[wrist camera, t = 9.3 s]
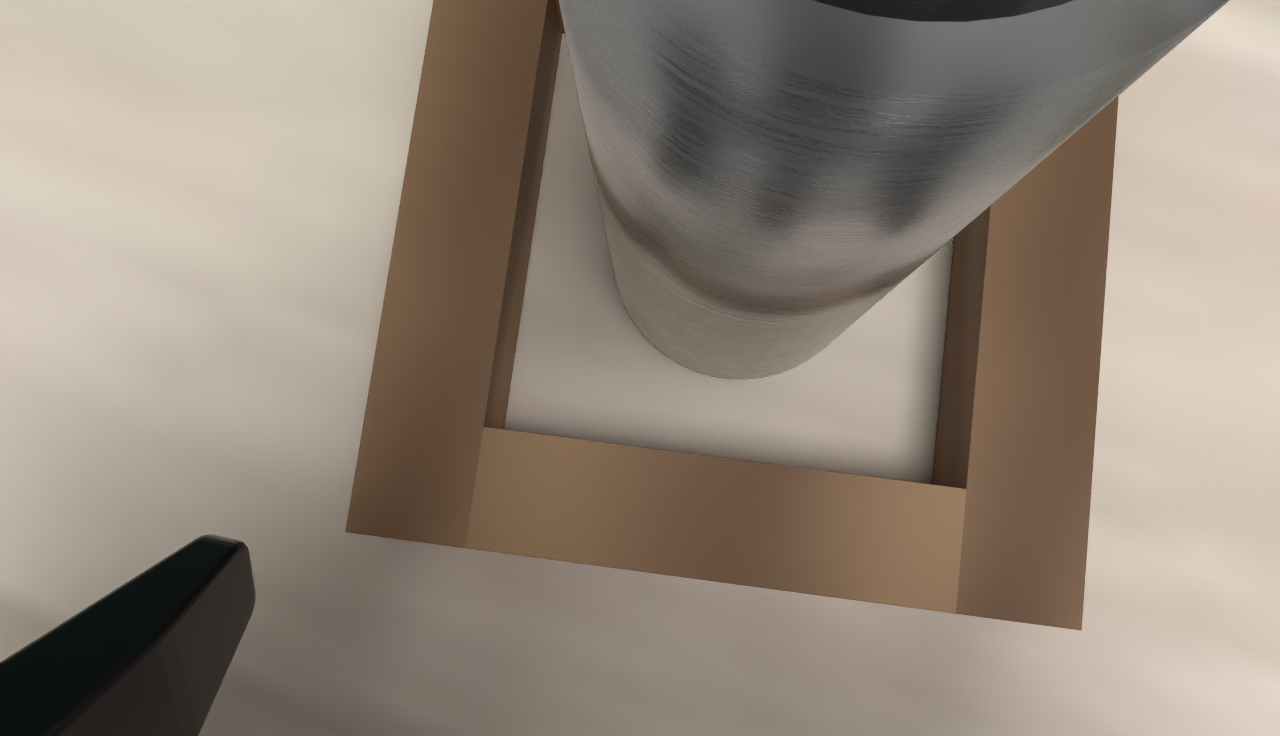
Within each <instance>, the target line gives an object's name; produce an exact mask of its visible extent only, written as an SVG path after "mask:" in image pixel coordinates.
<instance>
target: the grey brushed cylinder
mask: <svg viewBox="0 0 1280 736" xmlns="http://www.w3.org/2000/svg"><path fill="white" fill-rule="evenodd" d="M1228 1H1229V0H559V4H560V9H561V14H562V19H563V24H564V29H565V34H566V39H567V44H568V48H569V53H570V58H571V63H572V68H573V73H574V78H575V83H576V88H577V93H578V97H579V102H580V107H581V112H582V117H583V122H584V127H585V132H586V137H587V142H588V146H589V151H590V156H591V161H592V166H593V171H594V176H595V181H596V186H597V190H598V195H599V200H600V205H601V210H602V215H603V220H604V225H605V230H606V235H607V239H608V244H609V249H610V254H611V259H612V264H613V269H614V274H615V278H616V282H617V286H618V290H619V294H620V296H621V299H622V301H623V304H624V306H625V308H626V310H627V312H628V314H629V316H630V317H631V319H632V321H633V322H634V324H635V325H636V327H637V328H638V329H639V331H640V332H641V333H642V335H643V336H644V337H645V338H646V339H647V340H648V341H649V342H650V343H651V344H652V345H653V346H654V347H655V348H657V349H658V350H659V351H660V352H662V353H663V354H664V355H666V356H667V357H668V358H670V359H672V360H673V361H675V362H677V363H678V364H680V365H682V366H684V367H686V368H689V369H691V370H693V371H696V372H699V373H702V374H706V375H709V376H713V377H719V378H726V379H754V378H763V377H767V376H771V375H775V374H779V373H782V372H784V371H787V370H789V369H792V368H794V367H796V366H798V365H800V364H802V363H803V362H805V361H807V360H809V359H810V358H812V357H813V356H814V355H816V354H817V353H818V352H820V351H821V350H822V349H824V348H825V347H826V346H827V345H828V344H829V343H831V342H832V341H833V340H834V339H835V338H836V337H838V336H839V335H840V334H841V333H842V332H843V331H845V330H846V329H847V328H848V327H849V326H850V325H852V324H853V323H854V322H855V321H856V320H857V319H859V318H860V317H861V316H862V315H863V314H864V313H866V312H867V311H868V310H869V309H870V308H871V307H873V306H874V305H875V304H876V303H877V302H878V301H880V300H881V299H882V298H883V297H884V296H885V295H887V294H888V293H889V292H890V291H891V290H892V289H894V288H895V287H896V286H897V285H898V284H899V283H901V282H902V281H903V280H904V279H905V278H906V277H908V276H909V275H910V274H911V273H912V272H913V271H915V270H916V269H917V268H918V267H919V266H920V265H922V264H923V263H924V262H925V261H926V260H927V259H928V258H930V257H931V256H932V255H933V254H934V253H935V252H937V251H938V250H939V249H940V248H941V247H942V246H944V245H945V244H946V243H947V242H948V241H949V240H951V239H952V238H953V237H954V236H955V235H956V234H958V233H959V232H960V231H961V230H962V229H963V228H965V227H966V226H967V225H968V224H969V223H970V222H972V221H973V220H974V219H975V218H976V217H977V216H979V215H980V214H981V213H982V212H983V211H984V210H986V209H987V208H988V207H989V206H990V205H991V204H993V203H994V202H995V201H996V200H997V199H998V198H1000V197H1001V196H1002V195H1003V194H1004V193H1005V192H1007V191H1008V190H1009V189H1010V188H1011V187H1012V186H1014V185H1015V184H1016V183H1017V182H1018V181H1019V180H1021V179H1022V178H1023V177H1024V176H1025V175H1026V174H1028V173H1029V172H1030V171H1031V170H1032V169H1033V168H1035V167H1036V166H1037V165H1038V164H1039V163H1040V162H1042V161H1043V160H1044V159H1045V158H1046V157H1047V156H1049V155H1050V154H1051V153H1052V152H1053V151H1054V150H1056V149H1057V148H1058V147H1059V146H1060V145H1061V144H1063V143H1064V142H1065V141H1066V140H1067V139H1068V138H1070V137H1071V136H1072V135H1073V134H1074V133H1075V132H1076V131H1078V130H1079V129H1080V128H1081V127H1082V126H1083V125H1085V124H1086V123H1087V122H1088V121H1089V120H1090V119H1092V118H1093V117H1094V116H1095V115H1096V114H1097V113H1099V112H1100V111H1101V110H1102V109H1103V108H1104V107H1106V106H1107V105H1108V104H1109V103H1110V102H1111V101H1113V100H1114V99H1115V98H1116V97H1117V96H1118V95H1120V94H1121V93H1122V92H1123V91H1124V90H1125V89H1127V88H1128V87H1129V86H1130V85H1131V84H1132V83H1134V82H1135V81H1136V80H1137V79H1138V78H1139V77H1141V76H1142V75H1143V74H1144V73H1145V72H1146V71H1148V70H1149V69H1150V68H1151V67H1152V66H1153V65H1155V64H1156V63H1157V62H1158V61H1159V60H1160V59H1162V58H1163V57H1164V56H1165V55H1166V54H1167V53H1169V52H1170V51H1171V50H1172V49H1173V48H1174V47H1176V46H1177V45H1178V44H1179V43H1180V42H1181V41H1183V40H1184V39H1185V38H1186V37H1187V36H1188V35H1190V34H1191V33H1192V32H1193V31H1194V30H1195V29H1197V28H1198V27H1199V26H1200V25H1201V24H1202V23H1204V22H1205V21H1206V20H1207V19H1208V18H1209V17H1211V16H1212V15H1213V14H1214V13H1215V12H1216V11H1217V10H1219V9H1220V8H1221V7H1222V6H1223V5H1224V4H1226V3H1227V2H1228Z"/></svg>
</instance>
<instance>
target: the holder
mask: <svg viewBox="0 0 1280 736" xmlns="http://www.w3.org/2000/svg"><path fill="white" fill-rule="evenodd" d="M562 32H565V29H564V24H563V19H562V14H561V9H560V4H559V0H434V2H433V8H432V14H431V20H430V26H429V32H428V38H427V44H426V50H425V56H424V62H423V68H422V74H421V80H420V86H419V92H418V98H417V104H416V110H415V116H414V122H413V128H412V134H411V140H410V146H409V152H408V158H407V164H406V170H405V176H404V182H403V188H402V195H401V201H400V207H399V213H398V219H397V225H396V231H395V237H394V243H393V249H392V255H391V261H390V267H389V273H388V279H387V285H386V291H385V297H384V303H383V309H382V315H381V321H380V327H379V333H378V339H377V345H376V351H375V357H374V363H373V369H372V375H371V381H370V387H369V393H368V399H367V405H366V411H365V418H364V424H363V430H362V436H361V442H360V448H359V454H358V460H357V466H356V472H355V478H354V484H353V490H352V496H351V502H350V508H349V514H348V520H347V526H346V532H349V533H356V534H364V535H371V536H379V537H386V538H394V539H401V540H409V541H416V542H424V543H431V544H439V545H446V546H454V547H461V548H469V549H476V550H484V551H491V552H499V553H506V554H514V555H521V556H529V557H536V558H544V559H551V560H559V561H566V562H574V563H581V564H588V565H596V566H603V567H611V568H618V569H626V570H633V571H641V572H648V573H656V574H663V575H671V576H678V577H686V578H693V579H701V580H708V581H716V582H723V583H731V584H738V585H746V586H753V587H761V588H768V589H776V590H783V591H791V592H798V593H806V594H813V595H821V596H828V597H836V598H843V599H851V600H858V601H865V602H873V603H880V604H888V605H895V606H903V607H910V608H918V609H925V610H933V611H940V612H948V613H955V614H963V615H970V616H978V617H985V618H993V619H1000V620H1008V621H1015V622H1023V623H1030V624H1038V625H1045V626H1053V627H1060V628H1068V629H1075V630H1081V629H1082V615H1083V600H1084V586H1085V571H1086V557H1087V543H1088V528H1089V514H1090V499H1091V485H1092V470H1093V456H1094V441H1095V427H1096V413H1097V398H1098V384H1099V369H1100V355H1101V340H1102V326H1103V311H1104V297H1105V283H1106V268H1107V254H1108V239H1109V225H1110V210H1111V196H1112V181H1113V167H1114V153H1115V138H1116V124H1117V109H1118V96H1117V97H1116V98H1115V99H1114V100H1113V101H1111V102H1110V103H1109V104H1108V105H1107V106H1106V107H1104V108H1103V109H1102V110H1101V111H1100V112H1099V113H1097V114H1096V115H1095V116H1094V117H1093V118H1092V119H1090V120H1089V121H1088V122H1087V123H1086V124H1085V125H1083V126H1082V127H1081V128H1080V129H1079V130H1078V131H1076V132H1075V133H1074V134H1073V135H1072V136H1071V137H1070V138H1068V139H1067V140H1066V141H1065V142H1064V143H1063V144H1061V145H1060V146H1059V147H1058V148H1057V149H1056V150H1054V151H1053V152H1052V153H1051V154H1050V155H1049V156H1047V157H1046V158H1045V159H1044V160H1043V161H1042V162H1040V163H1039V164H1038V165H1037V166H1036V167H1035V168H1033V169H1032V170H1031V171H1030V172H1029V173H1028V174H1026V175H1025V176H1024V177H1023V178H1022V179H1021V180H1019V181H1018V182H1017V183H1016V184H1015V185H1014V186H1012V187H1011V188H1010V189H1009V190H1008V191H1007V192H1005V193H1004V194H1003V195H1002V196H1001V197H1000V198H998V199H997V200H996V201H995V202H994V203H993V204H991V205H990V206H989V207H988V208H987V209H986V210H984V211H983V212H982V213H981V214H980V215H979V216H977V217H976V218H975V219H974V220H973V221H972V222H970V223H969V224H968V225H967V226H966V227H965V228H963V229H962V230H961V231H960V232H959V233H958V234H956V235H955V238H954V249H953V260H952V271H951V282H950V293H949V304H948V315H947V326H946V337H945V349H944V360H943V371H942V382H941V393H940V404H939V415H938V426H937V437H936V448H935V460H934V471H933V482H932V485H931V484H923V483H915V482H908V481H900V480H892V479H884V478H877V477H869V476H861V475H853V474H846V473H838V472H830V471H822V470H814V469H807V468H799V467H791V466H783V465H776V464H768V463H760V462H752V461H745V460H737V459H729V458H721V457H713V456H706V455H698V454H690V453H682V452H675V451H667V450H659V449H651V448H644V447H636V446H628V445H620V444H613V443H605V442H597V441H589V440H581V439H574V438H566V437H558V436H550V435H543V434H535V433H527V432H519V431H512V430H504V424H505V417H506V411H507V404H508V397H509V390H510V383H511V377H512V370H513V363H514V356H515V350H516V343H517V336H518V329H519V322H520V316H521V309H522V302H523V295H524V288H525V282H526V275H527V268H528V261H529V254H530V248H531V241H532V234H533V227H534V221H535V214H536V207H537V200H538V193H539V187H540V180H541V173H542V166H543V159H544V153H545V146H546V139H547V132H548V125H549V119H550V112H551V105H552V98H553V92H554V85H555V78H556V71H557V64H558V58H559V51H560V44H561V37H562Z"/></svg>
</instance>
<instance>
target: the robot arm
mask: <svg viewBox="0 0 1280 736" xmlns="http://www.w3.org/2000/svg"><path fill="white" fill-rule="evenodd" d="M254 604H255V587H254V580H253V574H252V568H251V561H250V555H249V551H248V547H247V546H246V545H245V544H244V543H243V542H241V541H238V540H234V539H230V538H225V537H221V536H216V535H204V536H201V537H199V538H197V539H195V540H194V541H192V542H190V543H189V544H187V545H186V546H184V547H182V548H181V549H179V550H178V551H176V552H175V553H173V554H171V555H170V556H168V557H167V558H165V559H163V560H162V561H160V562H159V563H157V564H155V565H154V566H152V567H151V568H149V569H148V570H146V571H144V572H143V573H141V574H140V575H138V576H136V577H135V578H133V579H132V580H130V581H129V582H127V583H125V584H124V585H122V586H121V587H119V588H117V589H116V590H114V591H113V592H111V593H109V594H108V595H106V596H105V597H103V598H102V599H100V600H98V601H97V602H95V603H94V604H92V605H90V606H89V607H87V608H86V609H84V610H83V611H81V612H79V613H78V614H76V615H75V616H73V617H71V618H70V619H68V620H67V621H65V622H63V623H62V624H60V625H59V626H57V627H56V628H54V629H52V630H51V631H49V632H48V633H46V634H44V635H43V636H41V637H40V638H38V639H36V640H35V641H33V642H32V643H30V644H29V645H27V646H25V647H24V648H22V649H21V650H19V651H17V652H16V653H14V654H13V655H11V656H10V657H8V658H6V659H5V660H3V661H2V662H0V736H198V735H199V733H200V730H201V728H202V726H203V724H204V721H205V719H206V717H207V715H208V712H209V710H210V708H211V706H212V703H213V701H214V699H215V697H216V694H217V692H218V690H219V688H220V685H221V683H222V681H223V679H224V676H225V674H226V672H227V670H228V667H229V665H230V663H231V661H232V658H233V656H234V654H235V652H236V649H237V647H238V645H239V643H240V640H241V638H242V636H243V634H244V631H245V629H246V627H247V625H248V622H249V620H250V618H251V615H252V612H253V609H254Z"/></svg>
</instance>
